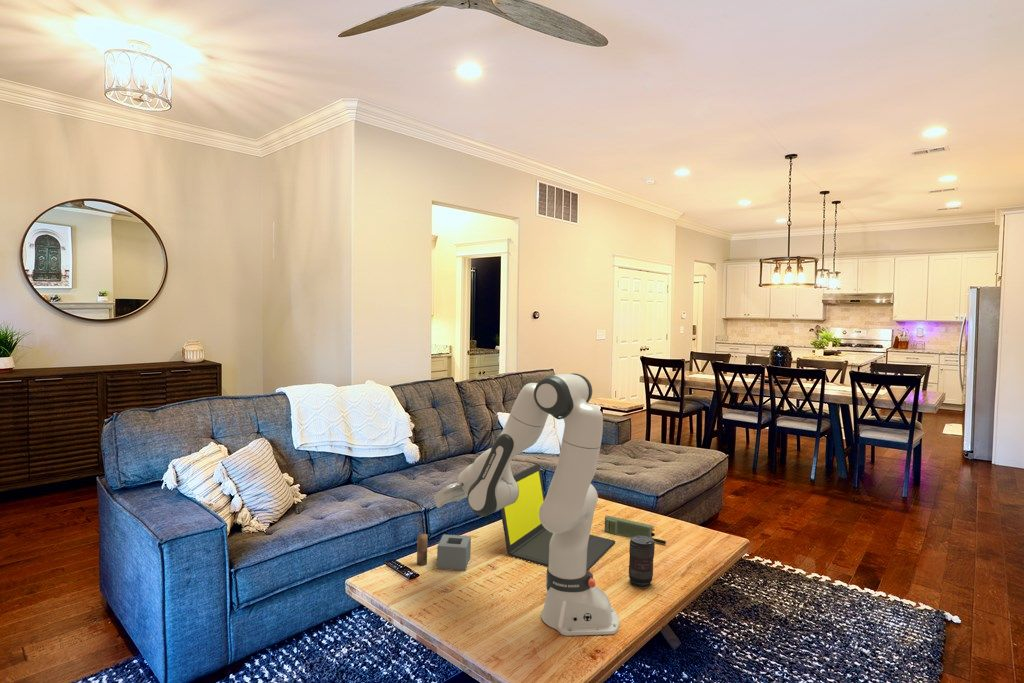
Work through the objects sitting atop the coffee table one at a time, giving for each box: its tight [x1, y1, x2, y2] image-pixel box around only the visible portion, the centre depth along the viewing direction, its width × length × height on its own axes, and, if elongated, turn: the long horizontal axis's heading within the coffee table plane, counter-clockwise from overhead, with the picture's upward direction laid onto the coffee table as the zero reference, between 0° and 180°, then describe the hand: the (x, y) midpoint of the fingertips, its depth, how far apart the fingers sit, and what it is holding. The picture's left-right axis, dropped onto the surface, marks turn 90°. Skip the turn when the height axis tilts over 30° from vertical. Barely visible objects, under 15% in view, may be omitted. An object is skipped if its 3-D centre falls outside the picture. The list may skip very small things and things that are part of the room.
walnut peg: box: [416, 533, 429, 567], centre depth 197 cm, size 4×4×10 cm
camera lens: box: [628, 535, 656, 589], centre depth 188 cm, size 8×8×15 cm
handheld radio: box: [604, 515, 667, 545], centre depth 226 cm, size 7×3×25 cm
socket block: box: [436, 534, 472, 572], centre depth 199 cm, size 10×10×8 cm
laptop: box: [499, 463, 616, 571], centre depth 214 cm, size 33×35×26 cm
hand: (447, 502), depth 190 cm, fingers open, 8 cm apart
